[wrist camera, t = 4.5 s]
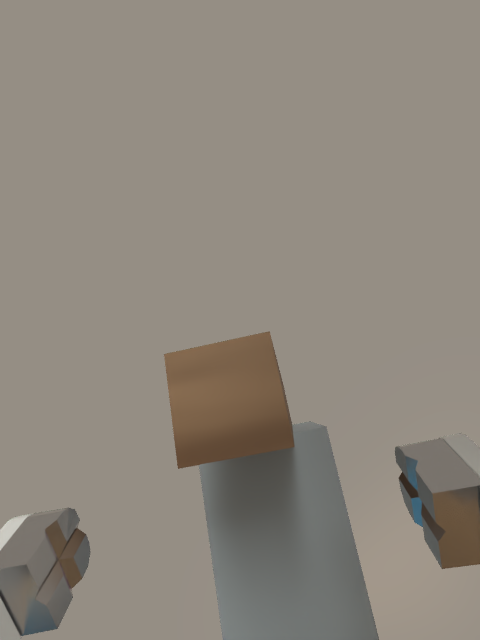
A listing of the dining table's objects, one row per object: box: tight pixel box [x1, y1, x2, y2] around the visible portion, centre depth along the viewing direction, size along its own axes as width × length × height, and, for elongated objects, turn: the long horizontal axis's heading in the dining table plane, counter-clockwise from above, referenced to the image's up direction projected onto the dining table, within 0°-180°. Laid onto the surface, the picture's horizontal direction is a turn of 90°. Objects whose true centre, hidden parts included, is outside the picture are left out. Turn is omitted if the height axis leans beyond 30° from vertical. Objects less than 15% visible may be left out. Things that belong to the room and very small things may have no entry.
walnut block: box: [164, 332, 295, 469], centre depth 20 cm, size 20×4×4 cm, turn 172°
